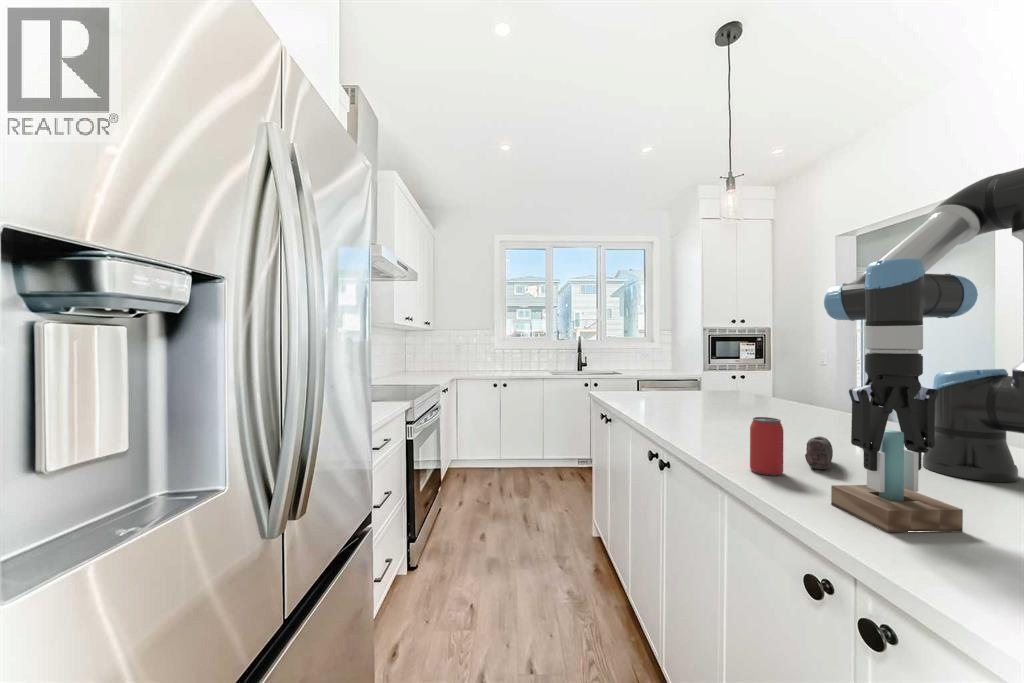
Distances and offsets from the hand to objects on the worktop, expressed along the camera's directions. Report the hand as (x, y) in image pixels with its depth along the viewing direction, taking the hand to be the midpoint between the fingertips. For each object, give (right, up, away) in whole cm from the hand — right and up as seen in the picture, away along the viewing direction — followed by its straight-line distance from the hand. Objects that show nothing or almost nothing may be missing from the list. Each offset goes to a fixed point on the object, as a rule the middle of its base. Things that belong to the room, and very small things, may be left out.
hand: (892, 488), depth 77 cm
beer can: (-7, -5, +26) cm, 27 cm away
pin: (0, -4, 0) cm, 4 cm away
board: (0, -5, 0) cm, 5 cm away
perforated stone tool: (+9, -5, +31) cm, 33 cm away
